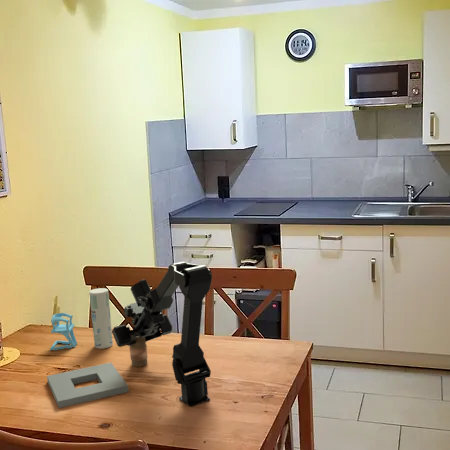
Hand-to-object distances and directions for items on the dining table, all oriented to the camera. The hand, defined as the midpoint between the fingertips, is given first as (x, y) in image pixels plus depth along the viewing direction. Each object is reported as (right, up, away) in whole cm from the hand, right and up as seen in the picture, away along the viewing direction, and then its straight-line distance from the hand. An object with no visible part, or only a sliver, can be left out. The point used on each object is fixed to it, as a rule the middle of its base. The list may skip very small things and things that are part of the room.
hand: (136, 343), depth 203 cm
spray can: (-14, -5, +19) cm, 24 cm away
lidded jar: (+1, -7, 0) cm, 7 cm away
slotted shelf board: (-12, -10, -15) cm, 22 cm away
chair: (-28, -5, +20) cm, 35 cm away
